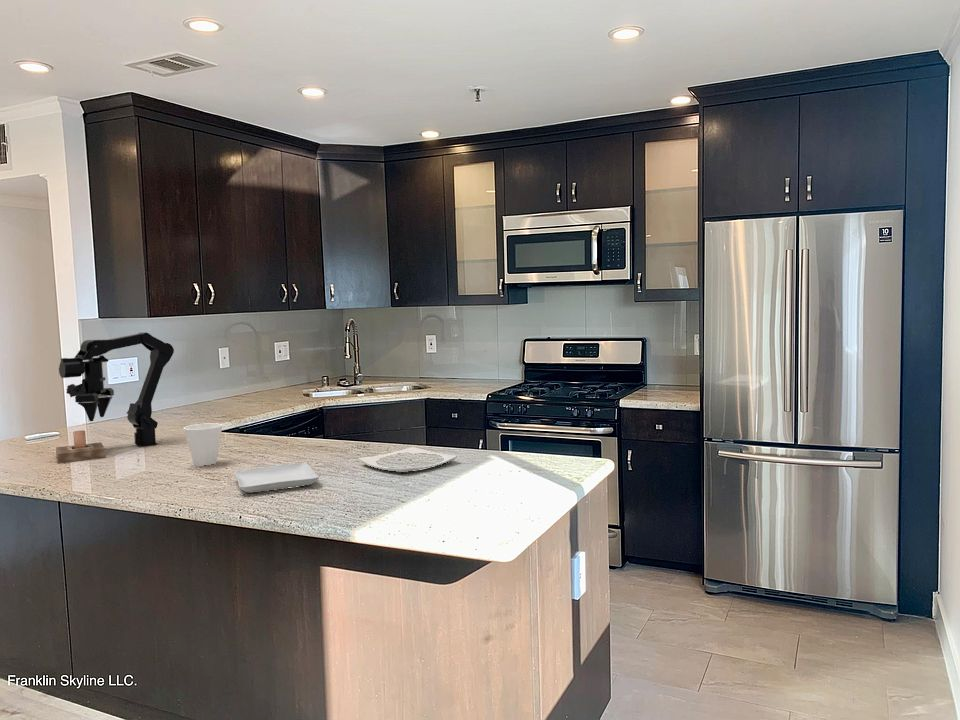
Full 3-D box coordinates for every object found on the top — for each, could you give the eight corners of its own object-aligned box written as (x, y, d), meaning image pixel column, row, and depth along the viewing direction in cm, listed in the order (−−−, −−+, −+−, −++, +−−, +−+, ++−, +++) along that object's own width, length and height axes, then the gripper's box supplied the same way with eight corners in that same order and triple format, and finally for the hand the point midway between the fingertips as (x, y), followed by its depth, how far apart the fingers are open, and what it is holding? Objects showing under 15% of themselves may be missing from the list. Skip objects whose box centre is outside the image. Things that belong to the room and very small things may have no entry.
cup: (232, 460, 234) (230, 423, 233) (207, 469, 222) (205, 430, 221) (203, 459, 237) (200, 422, 236) (177, 467, 226) (174, 428, 225)
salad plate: (240, 498, 188) (239, 486, 188) (233, 481, 208) (232, 469, 207) (320, 488, 197) (320, 476, 197) (306, 472, 216) (306, 461, 216)
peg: (86, 455, 248) (84, 430, 248) (87, 457, 245) (85, 431, 245) (74, 456, 247) (72, 431, 246) (75, 458, 244) (73, 432, 243)
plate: (413, 453, 240) (413, 445, 239) (463, 464, 222) (463, 455, 222) (352, 466, 223) (352, 458, 222) (401, 479, 205) (401, 470, 205)
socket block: (101, 451, 256) (101, 441, 255) (105, 457, 244) (104, 447, 244) (56, 456, 248) (55, 446, 248) (58, 463, 236) (57, 453, 236)
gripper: (80, 373, 259) (83, 416, 261) (57, 378, 241) (60, 424, 242) (113, 372, 261) (115, 414, 262) (92, 377, 242) (95, 423, 244)
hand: (96, 419), depth 252 cm, fingers open, 9 cm apart
